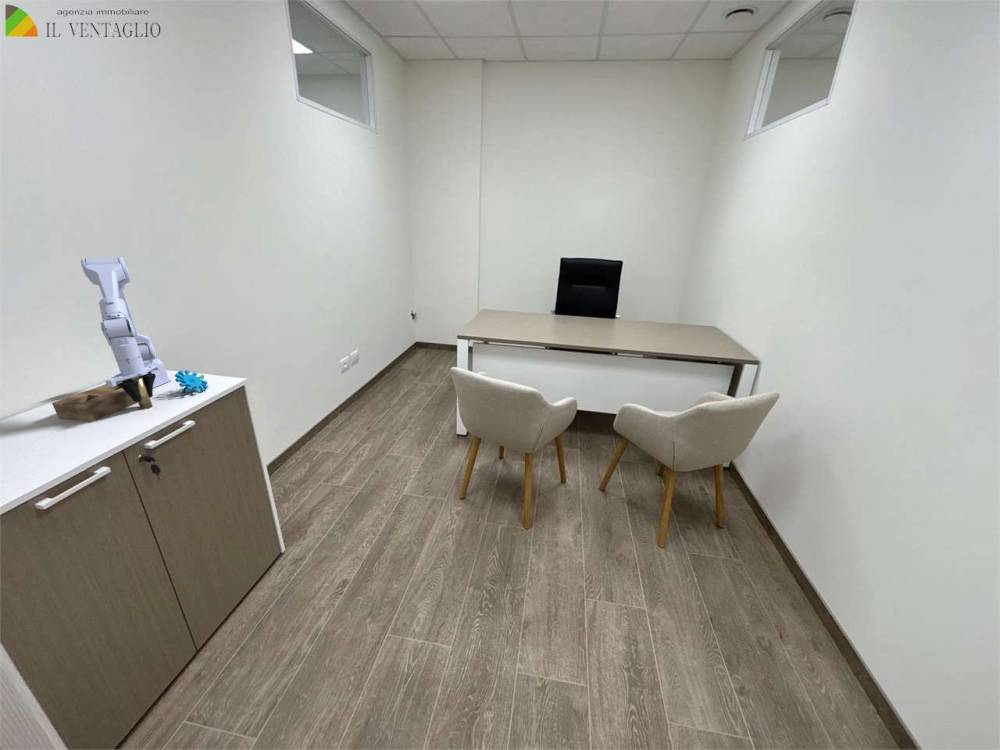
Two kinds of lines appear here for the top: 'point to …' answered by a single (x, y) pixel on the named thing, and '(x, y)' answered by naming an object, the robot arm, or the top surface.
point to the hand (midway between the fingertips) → (143, 398)
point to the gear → (191, 381)
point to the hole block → (93, 403)
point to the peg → (143, 394)
